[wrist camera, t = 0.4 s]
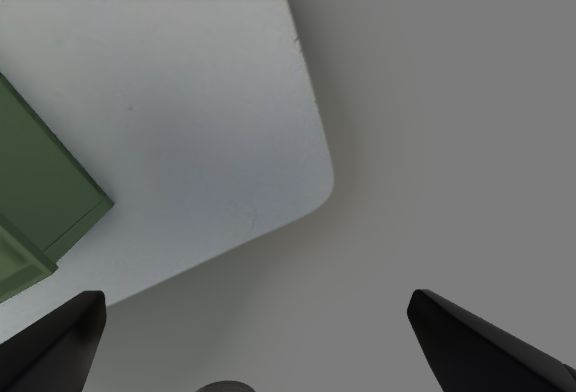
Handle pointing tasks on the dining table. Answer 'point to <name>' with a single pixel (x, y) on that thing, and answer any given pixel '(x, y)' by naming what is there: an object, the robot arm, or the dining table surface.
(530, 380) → the robot arm
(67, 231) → the storage box
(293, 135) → the dining table surface
